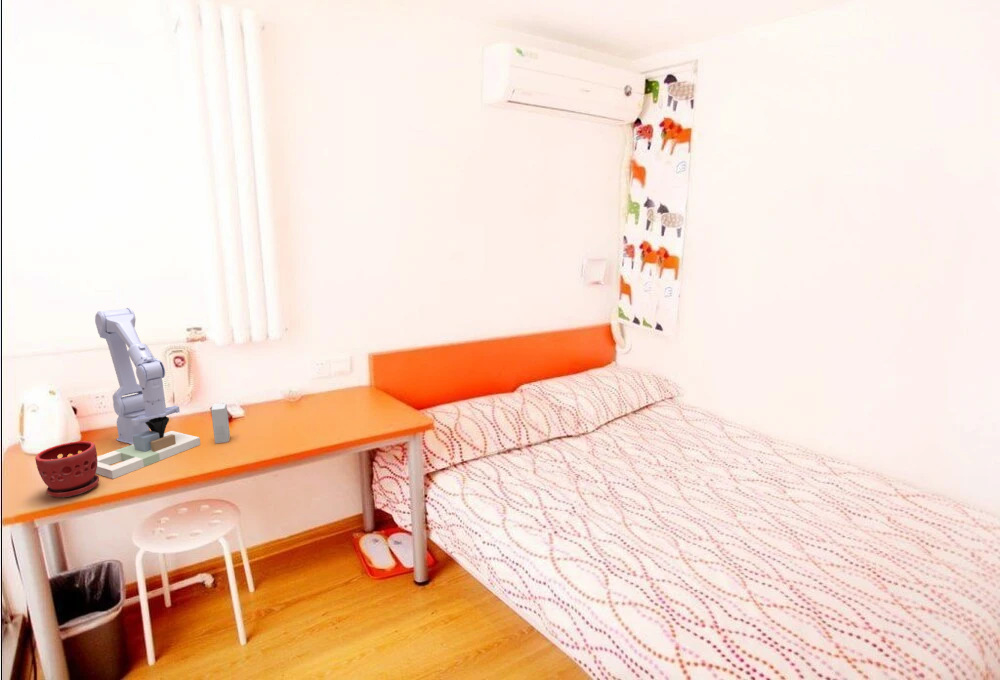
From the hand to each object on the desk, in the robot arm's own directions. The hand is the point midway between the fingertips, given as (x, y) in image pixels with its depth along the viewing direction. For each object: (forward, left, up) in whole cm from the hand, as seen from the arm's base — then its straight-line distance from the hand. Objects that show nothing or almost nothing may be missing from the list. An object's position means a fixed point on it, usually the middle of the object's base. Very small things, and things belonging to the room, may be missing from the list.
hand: (159, 440), depth 182 cm
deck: (0, -5, -4) cm, 6 cm away
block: (0, -4, -1) cm, 4 cm away
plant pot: (+4, -28, -4) cm, 29 cm away
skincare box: (+10, +15, -4) cm, 18 cm away
